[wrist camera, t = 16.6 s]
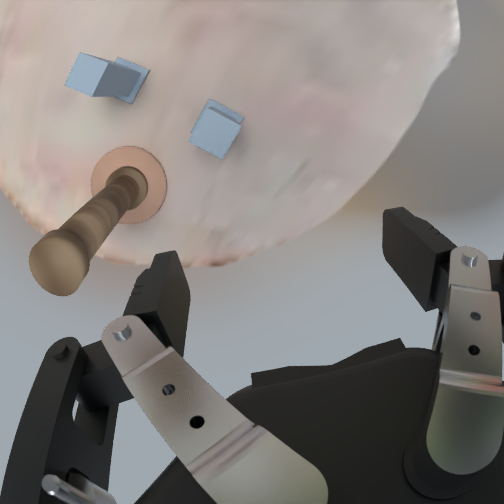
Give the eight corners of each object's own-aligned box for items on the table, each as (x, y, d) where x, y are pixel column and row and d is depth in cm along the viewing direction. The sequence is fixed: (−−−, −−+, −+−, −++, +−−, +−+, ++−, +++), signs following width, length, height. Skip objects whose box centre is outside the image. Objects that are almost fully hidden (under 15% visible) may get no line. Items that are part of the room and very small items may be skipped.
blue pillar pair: (243, 116, 37) (253, 123, 26) (224, 149, 39) (225, 170, 28) (119, 57, 32) (77, 43, 20) (101, 90, 33) (55, 90, 22)
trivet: (156, 137, 38) (154, 137, 37) (175, 212, 43) (174, 215, 42) (84, 158, 37) (82, 160, 37) (106, 228, 43) (104, 231, 42)
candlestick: (142, 161, 38) (68, 226, 18) (152, 201, 41) (98, 296, 21) (103, 172, 38) (13, 243, 18) (115, 210, 41) (43, 305, 21)
